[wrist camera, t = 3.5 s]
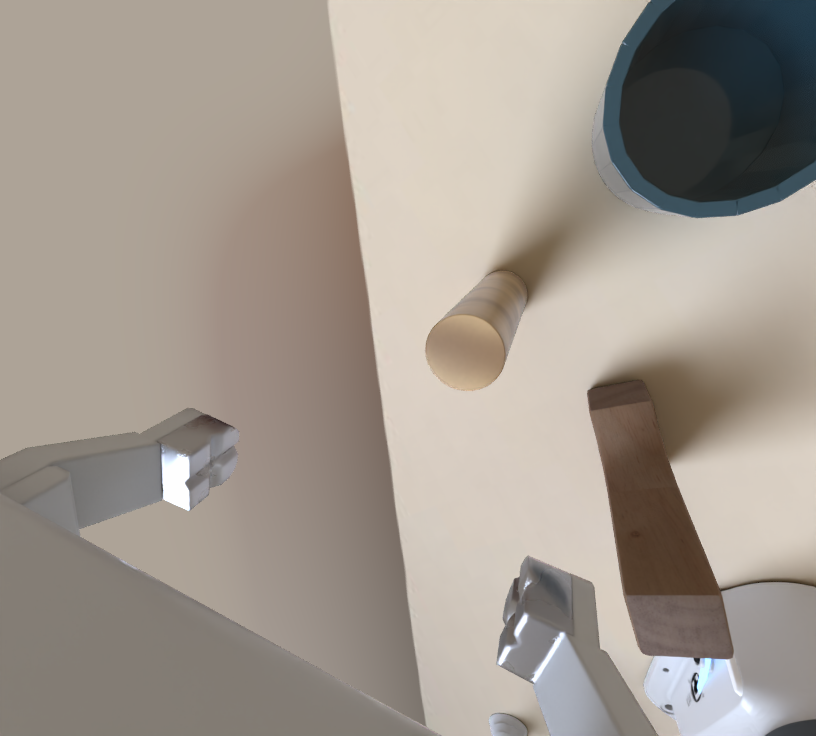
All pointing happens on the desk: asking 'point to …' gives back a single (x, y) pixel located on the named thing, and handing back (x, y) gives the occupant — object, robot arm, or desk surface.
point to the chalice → (506, 726)
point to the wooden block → (655, 533)
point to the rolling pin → (477, 333)
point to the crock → (710, 107)
